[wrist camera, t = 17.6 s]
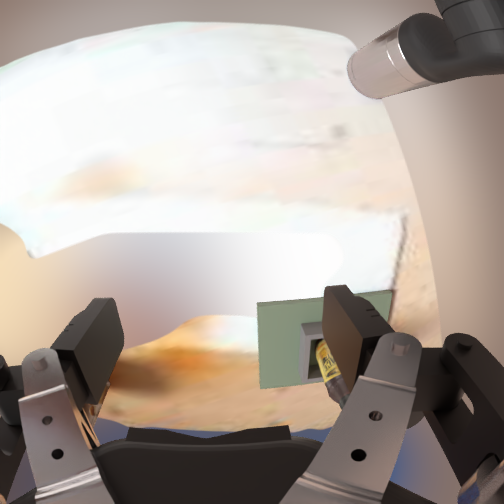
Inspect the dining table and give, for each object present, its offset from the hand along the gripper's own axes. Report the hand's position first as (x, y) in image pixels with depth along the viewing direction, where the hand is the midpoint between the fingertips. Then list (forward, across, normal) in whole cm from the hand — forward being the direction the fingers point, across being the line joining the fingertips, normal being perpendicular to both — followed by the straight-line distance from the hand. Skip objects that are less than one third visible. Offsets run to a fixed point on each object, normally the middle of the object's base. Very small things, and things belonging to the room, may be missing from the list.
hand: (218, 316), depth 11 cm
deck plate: (+38, -17, +30) cm, 51 cm away
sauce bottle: (+37, -17, +30) cm, 50 cm away
